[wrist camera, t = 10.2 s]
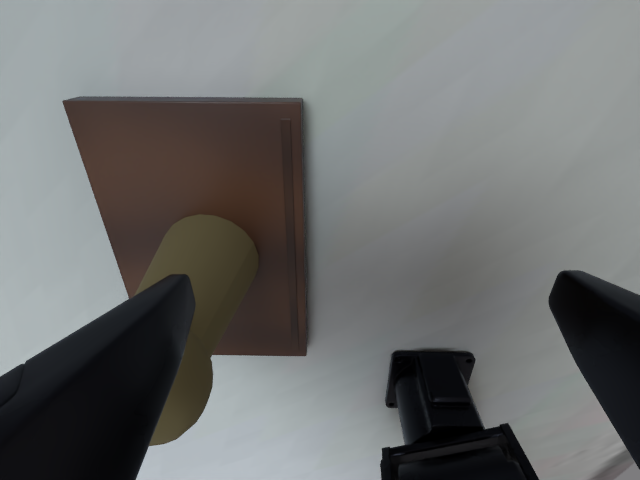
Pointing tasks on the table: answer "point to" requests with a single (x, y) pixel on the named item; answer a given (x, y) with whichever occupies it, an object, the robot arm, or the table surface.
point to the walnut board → (206, 194)
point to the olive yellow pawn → (201, 306)
